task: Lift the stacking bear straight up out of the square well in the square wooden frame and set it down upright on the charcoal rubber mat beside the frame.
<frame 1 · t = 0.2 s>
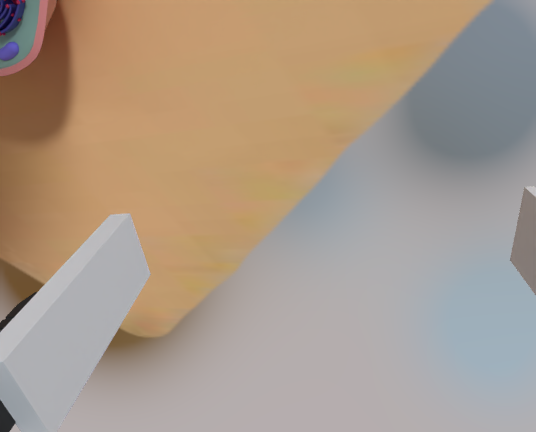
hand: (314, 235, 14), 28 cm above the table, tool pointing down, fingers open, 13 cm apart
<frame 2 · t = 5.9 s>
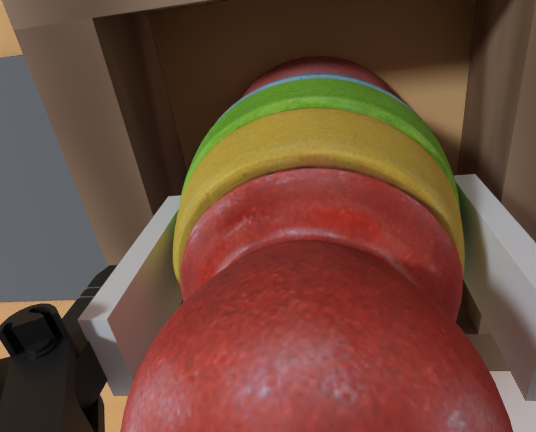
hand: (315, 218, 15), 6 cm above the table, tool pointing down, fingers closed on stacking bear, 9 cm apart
square wooden frame: (315, 156, 20), on the table
stacking bear: (315, 155, 20), resting in square wooden frame, touching gripper
rubber mat: (13, 197, 23), on the table
when the fingers open (8 cm above the table, at t = 12.7 s): stacking bear drops 1 cm, resting on rubber mat.
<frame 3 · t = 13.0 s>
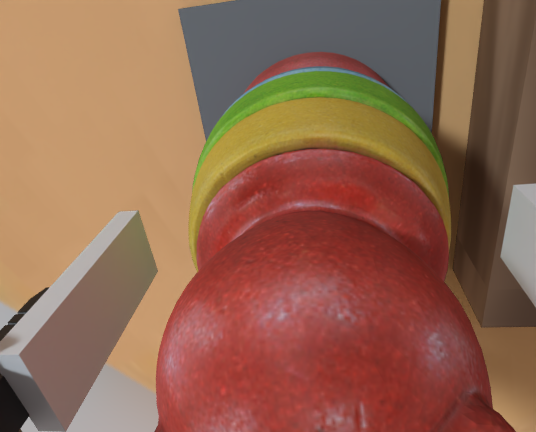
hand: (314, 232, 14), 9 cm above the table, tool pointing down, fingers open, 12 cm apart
stacking bear: (315, 145, 21), resting on rubber mat
rubber mat: (315, 144, 22), on the table
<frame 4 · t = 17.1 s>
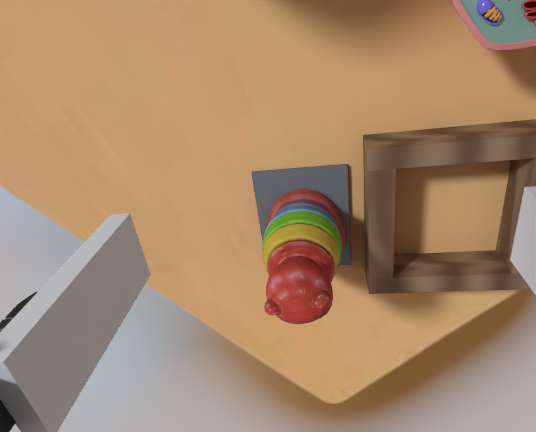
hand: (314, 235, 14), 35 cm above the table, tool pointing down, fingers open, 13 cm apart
square wooden frame: (444, 204, 50), on the table
stacking bear: (303, 220, 53), resting on rubber mat
rubber mat: (303, 219, 53), on the table
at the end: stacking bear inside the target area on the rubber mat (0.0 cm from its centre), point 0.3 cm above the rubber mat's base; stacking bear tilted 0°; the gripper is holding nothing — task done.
